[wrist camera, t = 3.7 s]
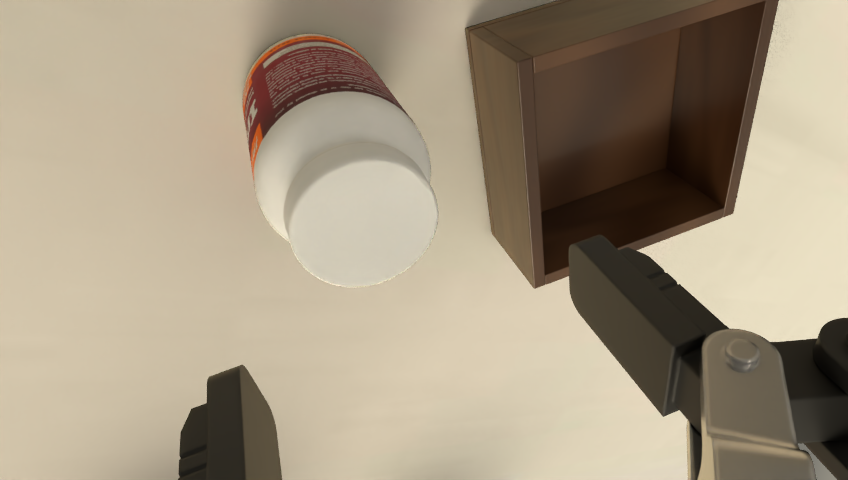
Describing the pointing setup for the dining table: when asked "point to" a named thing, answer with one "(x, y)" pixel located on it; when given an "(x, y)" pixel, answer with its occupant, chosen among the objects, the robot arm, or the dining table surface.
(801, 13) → the dining table surface
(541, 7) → the crate
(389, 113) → the pill bottle
